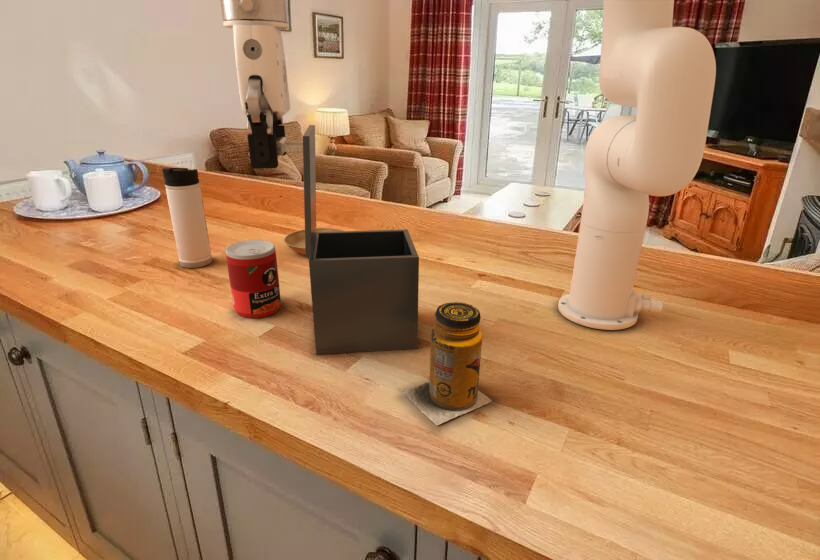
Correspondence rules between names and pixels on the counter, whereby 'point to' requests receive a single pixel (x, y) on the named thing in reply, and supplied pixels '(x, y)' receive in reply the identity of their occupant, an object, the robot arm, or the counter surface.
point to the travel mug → (187, 216)
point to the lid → (305, 180)
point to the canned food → (253, 278)
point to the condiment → (452, 365)
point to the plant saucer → (302, 239)
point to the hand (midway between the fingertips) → (270, 161)
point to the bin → (364, 291)
